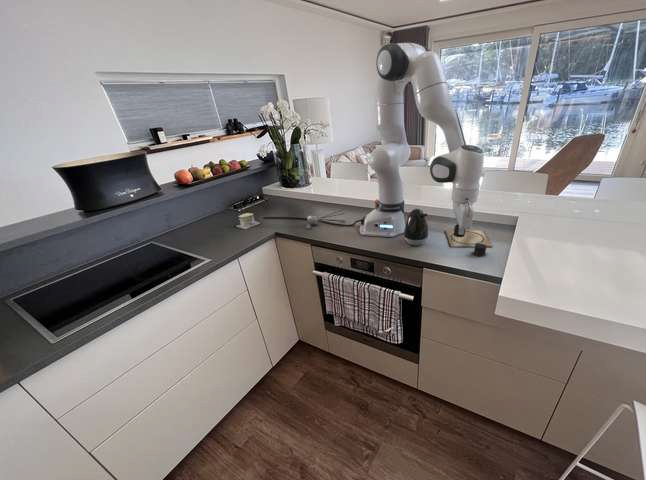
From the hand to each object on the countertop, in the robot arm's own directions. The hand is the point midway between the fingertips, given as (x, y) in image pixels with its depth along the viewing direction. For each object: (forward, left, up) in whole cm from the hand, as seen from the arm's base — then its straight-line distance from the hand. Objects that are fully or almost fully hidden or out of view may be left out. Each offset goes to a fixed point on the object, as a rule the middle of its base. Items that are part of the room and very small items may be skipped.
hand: (459, 230), depth 108 cm
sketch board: (+6, +14, -10) cm, 18 cm away
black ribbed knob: (0, 0, -2) cm, 2 cm away
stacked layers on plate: (-105, +33, -10) cm, 110 cm away
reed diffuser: (-61, +32, -10) cm, 69 cm away
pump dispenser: (-16, +10, -10) cm, 21 cm away
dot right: (+8, 0, -10) cm, 13 cm away
